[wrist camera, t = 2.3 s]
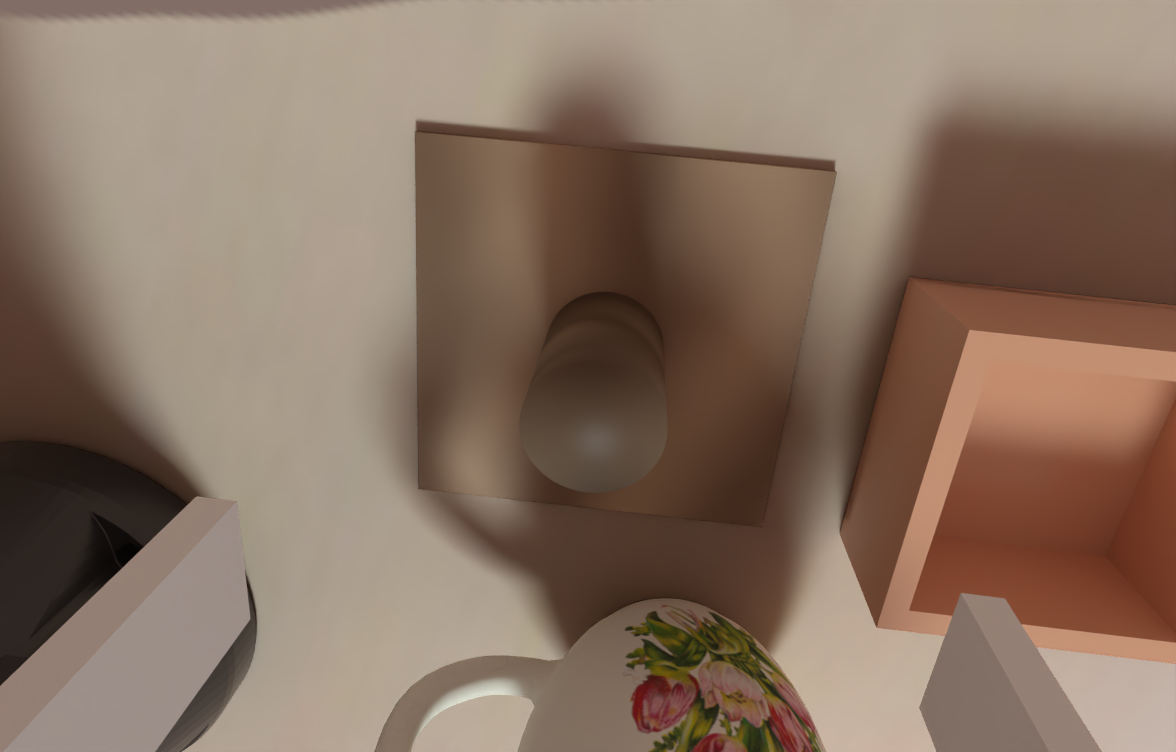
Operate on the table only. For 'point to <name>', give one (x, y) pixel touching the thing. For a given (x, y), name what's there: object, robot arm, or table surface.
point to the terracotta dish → (1023, 468)
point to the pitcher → (631, 689)
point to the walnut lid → (609, 323)
